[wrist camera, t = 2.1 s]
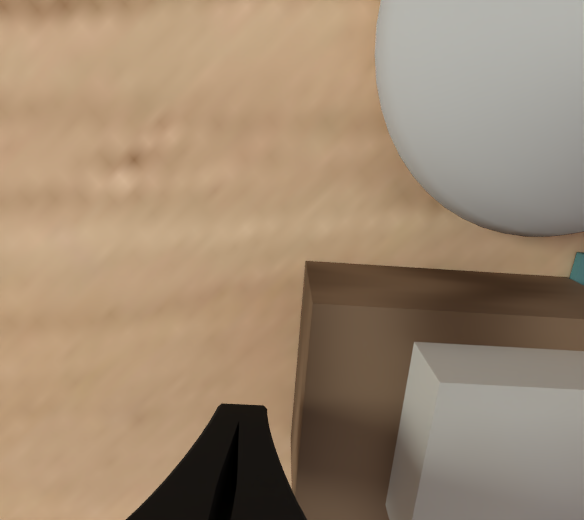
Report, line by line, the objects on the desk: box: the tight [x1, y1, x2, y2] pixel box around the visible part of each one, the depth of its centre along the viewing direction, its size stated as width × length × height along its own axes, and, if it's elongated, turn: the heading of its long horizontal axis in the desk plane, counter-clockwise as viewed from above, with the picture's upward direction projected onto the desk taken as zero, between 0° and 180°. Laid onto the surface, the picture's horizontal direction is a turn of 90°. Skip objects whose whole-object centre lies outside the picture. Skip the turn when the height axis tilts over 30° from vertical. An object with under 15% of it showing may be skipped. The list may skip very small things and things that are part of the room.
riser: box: [291, 261, 584, 520], centre depth 14 cm, size 10×8×4 cm
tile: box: [385, 342, 584, 520], centre depth 11 cm, size 6×6×2 cm
